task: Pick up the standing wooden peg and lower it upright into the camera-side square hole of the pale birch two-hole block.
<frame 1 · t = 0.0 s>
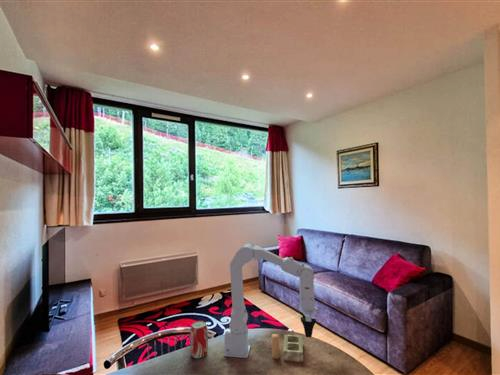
hand: (307, 331, 99), 10 cm above the table, fingers open, 7 cm apart
hole block: (293, 351, 102), on the table
peg: (275, 356, 99), on the table
soda can: (199, 355, 101), on the table
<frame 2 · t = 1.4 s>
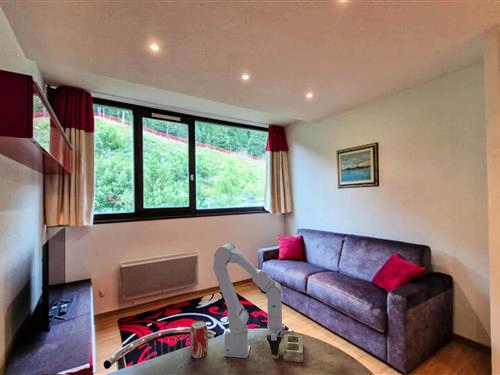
hand: (275, 348, 99), 3 cm above the table, fingers open, 7 cm apart
nothing on the table moved.
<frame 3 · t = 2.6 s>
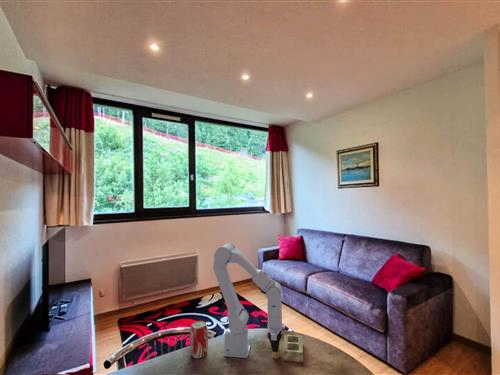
hand: (275, 348, 99), 3 cm above the table, fingers closed on peg, 3 cm apart
peg: (275, 356, 99), on the table, touching gripper
everything else where it was.
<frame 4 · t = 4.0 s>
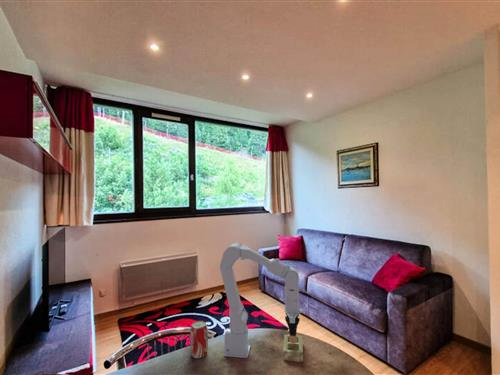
hand: (292, 332, 100), 9 cm above the table, fingers closed on peg, 3 cm apart
peg: (293, 340, 100), point 6 cm above the table, touching gripper
everything else where it was.
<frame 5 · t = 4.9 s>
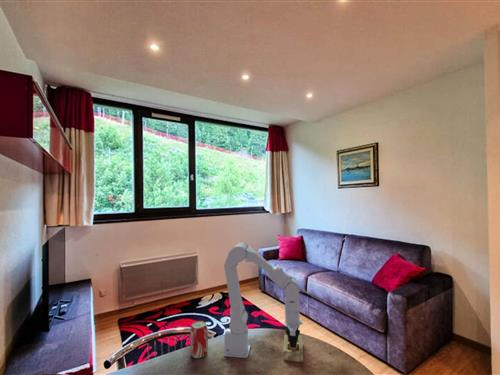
hand: (293, 344, 100), 4 cm above the table, fingers closed on peg, 3 cm apart
peg: (293, 352, 100), point 1 cm above the table, touching gripper
everything else where it was.
when the fingers open (4 cm above the table, at t = 5.7 s): peg drops 1 cm, resting in hole block.
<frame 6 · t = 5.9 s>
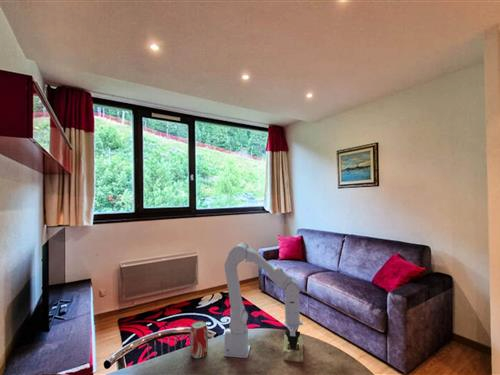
hand: (293, 345, 100), 4 cm above the table, fingers open, 5 cm apart
peg: (293, 355, 99), resting in hole block
everything else where it was.
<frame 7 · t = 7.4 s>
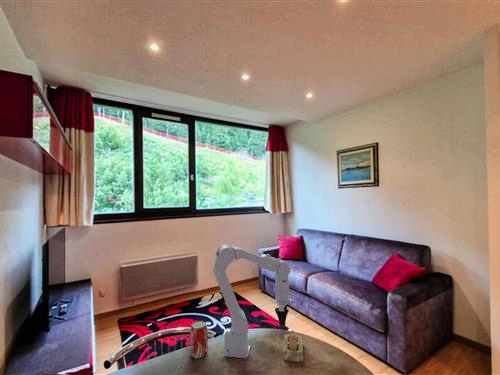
hand: (282, 321, 107), 10 cm above the table, fingers open, 7 cm apart
nothing on the table moved.
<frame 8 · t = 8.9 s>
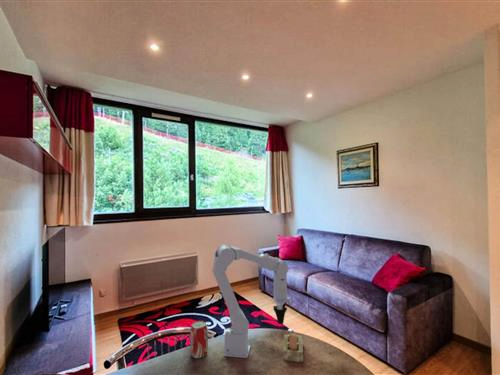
hand: (281, 319, 108), 10 cm above the table, fingers open, 7 cm apart
nothing on the table moved.
at the end: peg 0.0 cm from the target spot on the hole block, point 0.0 cm above the hole block's base; peg tilted 1°; the gripper is holding nothing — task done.
